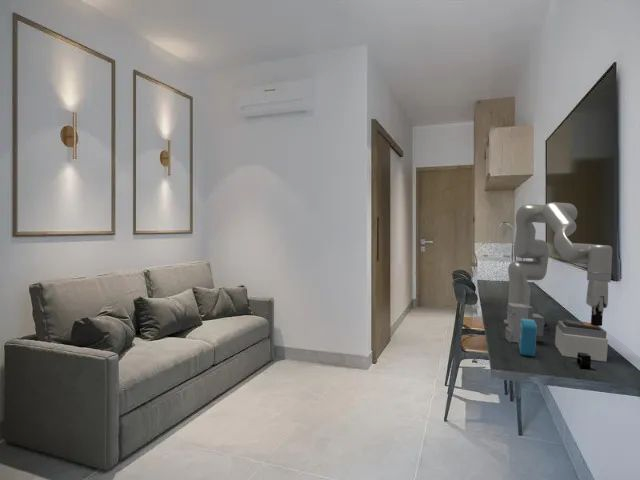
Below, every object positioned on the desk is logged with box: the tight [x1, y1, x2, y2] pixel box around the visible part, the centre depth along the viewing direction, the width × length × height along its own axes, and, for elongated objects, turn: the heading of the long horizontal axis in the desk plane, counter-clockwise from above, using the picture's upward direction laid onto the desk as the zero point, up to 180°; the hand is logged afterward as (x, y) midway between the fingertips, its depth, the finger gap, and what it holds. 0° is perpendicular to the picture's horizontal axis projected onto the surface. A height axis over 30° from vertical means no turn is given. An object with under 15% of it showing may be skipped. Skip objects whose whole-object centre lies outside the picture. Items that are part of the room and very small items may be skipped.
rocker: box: [564, 319, 599, 330], centre depth 161 cm, size 7×10×2 cm
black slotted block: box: [570, 352, 598, 372], centre depth 146 cm, size 12×7×5 cm, turn 166°
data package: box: [518, 318, 537, 358], centre depth 158 cm, size 12×4×12 cm, turn 158°
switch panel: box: [554, 320, 609, 362], centre depth 161 cm, size 16×14×10 cm
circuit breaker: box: [504, 303, 548, 344], centre depth 174 cm, size 8×14×15 cm, turn 78°
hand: (596, 325), depth 159 cm, fingers closed
